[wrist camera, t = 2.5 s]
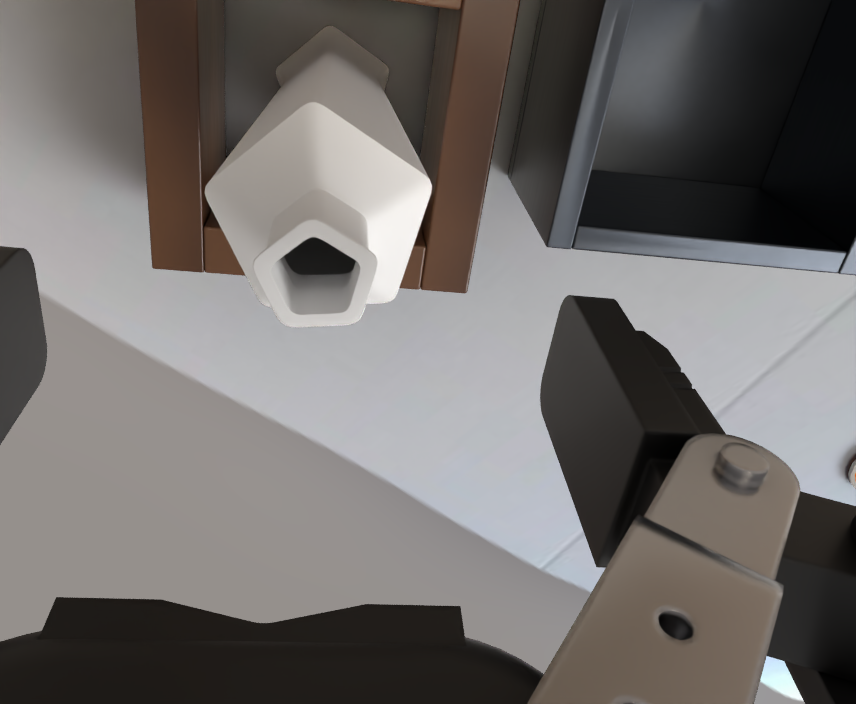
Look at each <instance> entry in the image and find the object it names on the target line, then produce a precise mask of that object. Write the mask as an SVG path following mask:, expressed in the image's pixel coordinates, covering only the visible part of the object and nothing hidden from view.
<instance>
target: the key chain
mask: <svg viewBox="0 0 856 704" xmlns="http://www.w3.org/2000/svg"><path fill="white" fill-rule="evenodd" d="M848 476H849V482H850V483H851V484H852V485H853V486H854V487H855V489H856V460H855V461H854V462H853V463H852V465H851V467H850V470H849V472H848Z"/></svg>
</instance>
